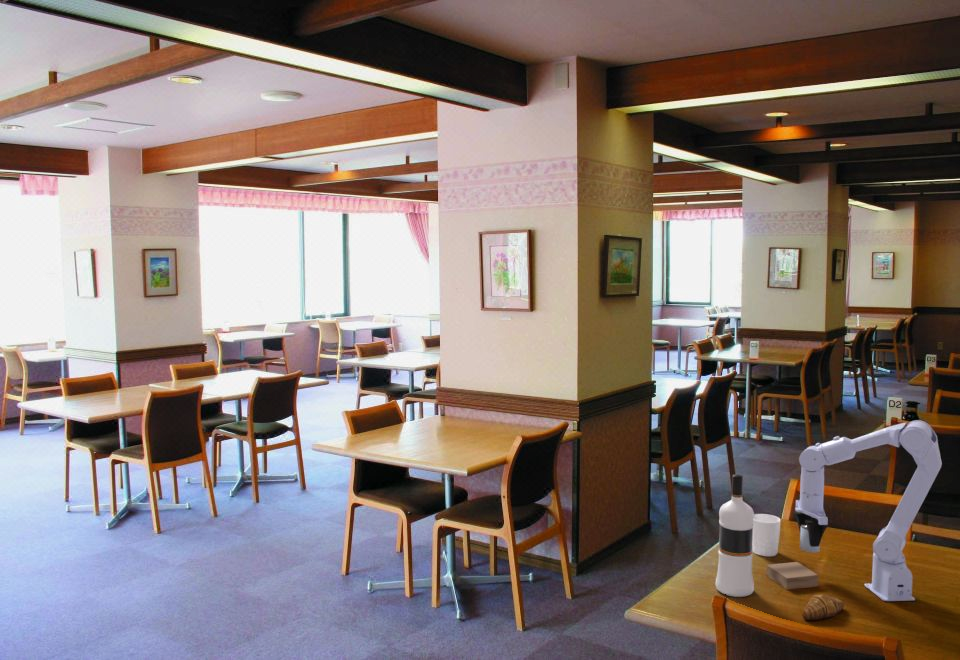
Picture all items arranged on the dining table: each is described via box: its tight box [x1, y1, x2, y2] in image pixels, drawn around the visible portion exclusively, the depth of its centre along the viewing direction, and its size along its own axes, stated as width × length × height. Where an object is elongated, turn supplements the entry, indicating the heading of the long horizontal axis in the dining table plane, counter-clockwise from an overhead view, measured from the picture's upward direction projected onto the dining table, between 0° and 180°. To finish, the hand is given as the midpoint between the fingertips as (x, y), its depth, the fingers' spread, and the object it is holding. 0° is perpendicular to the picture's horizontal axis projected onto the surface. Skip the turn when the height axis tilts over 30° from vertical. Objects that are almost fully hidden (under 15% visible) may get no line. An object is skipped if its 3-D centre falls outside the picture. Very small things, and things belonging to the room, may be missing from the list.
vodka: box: [715, 473, 755, 598], centre depth 199 cm, size 9×9×30 cm
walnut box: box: [765, 561, 819, 590], centre depth 206 cm, size 9×9×3 cm
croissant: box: [802, 594, 845, 621], centre depth 187 cm, size 14×7×5 cm, turn 120°
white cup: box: [752, 513, 781, 557], centre depth 226 cm, size 8×8×10 cm
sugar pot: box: [799, 523, 821, 553], centre depth 209 cm, size 5×5×6 cm
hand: (809, 542), depth 209 cm, fingers closed on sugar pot, 5 cm apart
